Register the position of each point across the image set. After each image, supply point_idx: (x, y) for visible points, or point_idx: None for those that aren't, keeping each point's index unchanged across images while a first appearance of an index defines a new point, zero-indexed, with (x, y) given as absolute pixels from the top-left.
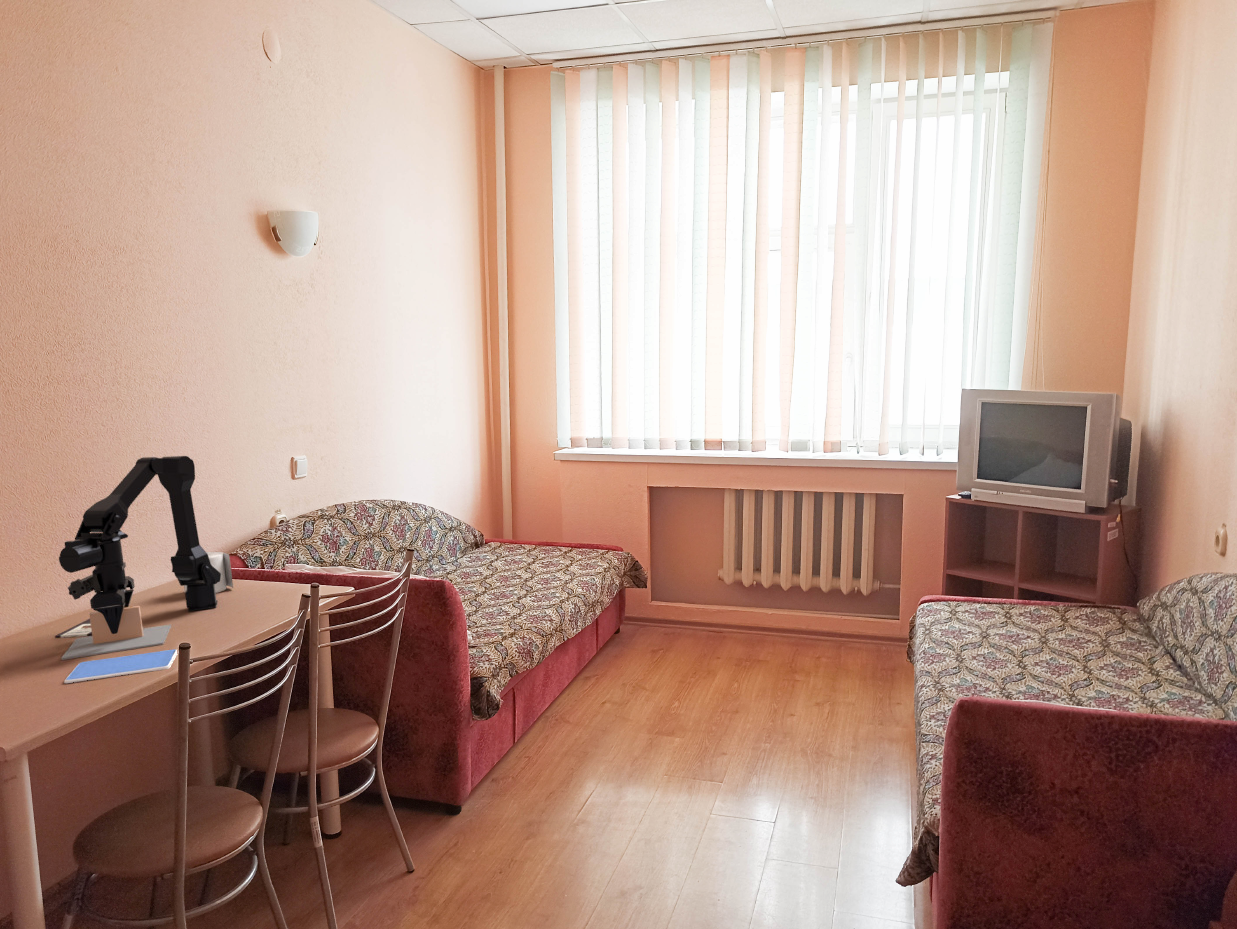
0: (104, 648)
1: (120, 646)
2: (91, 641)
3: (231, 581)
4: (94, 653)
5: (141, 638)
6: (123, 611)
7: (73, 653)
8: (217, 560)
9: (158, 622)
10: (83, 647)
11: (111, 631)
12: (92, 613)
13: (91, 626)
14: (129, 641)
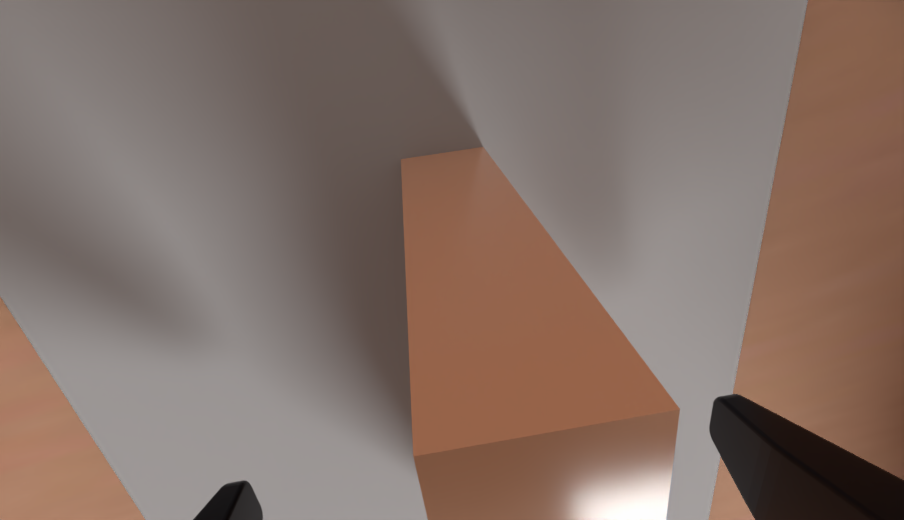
0: (173, 337)
1: (206, 447)
2: (531, 93)
3: None
4: (4, 297)
5: (406, 511)
6: None
7: (6, 32)
8: None
9: (873, 450)
10: (279, 79)
11: (201, 515)
12: (456, 516)
13: (405, 255)
14: (350, 461)
